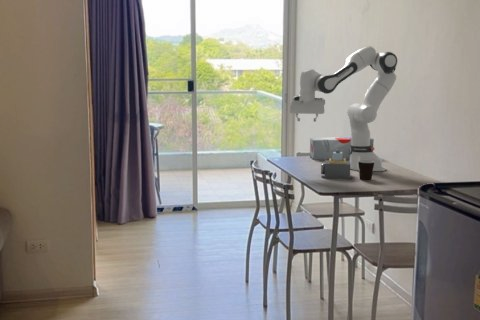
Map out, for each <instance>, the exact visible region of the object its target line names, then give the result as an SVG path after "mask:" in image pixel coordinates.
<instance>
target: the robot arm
mask: <svg viewBox="0 0 480 320" xmlns="http://www.w3.org/2000/svg"><path fill="white" fill-rule="evenodd" d="M397 65H398V58H397V55H396V54H395V53H394V52H391V51H380V52H377V50H376V49H375V48H374V46H371V45H366V46H365V47H361V48H360V49H358V50H356V51H354V52H352V53H351V54H349V56H347V57H346V58H345V60H344V65H343V67H342V68H340V69H338V70H337V71H336V72H334V73H333V74H329V75H323V74H321V73H320V72H317V71H316V70H315V69H313V68H312V69H305V70H303V71H301V72H300V77H299V79H300V80H299V86H300V89H299V94H297V95H295V96H292V97H291V100H292V101H291V102H290V105H289V113H290V114H295V117H296V120H297V122H301V118H300V117H299V114H305V115H306V114H307V115H311V114H312V115H315V118H313V122H317V119H318V117H319V115H324V114H325V104H326V100H325V99H324V98H323V97H316V91H317V92H321V93H323V94H331V93H333V92H334V91H335V90H336V88H337V87H338V85H339V84H341V83H342V82H343V81H345V80H346V79H348V78H349V77H351V76H352V75H354V74H356V73H358V72H361V71H362V70H364V69H366V68H367V67H368V66H370V68H371V69H372V70H374V71H376V72H377V76H376V77H375V79H374V80H373V81H372V82H371V84H370V85H369V87H367V90H365V92H364V93H365V94H364V98H363V100H362V102H356V103H352V104H350V105H349V106H348V108H347V112H346V113H347V116H348V119H349V124H350V131H351V133H350V134H351V136H350V137H351V145H350V159H348V161H350V164H351V165H350V170H354V171H357V172H359V164H358V161H360V160H370V161H374V167H373V172H384V171H386V170H387V168H386V166H384V165H383V161H382V159H381V157H380V156H379V155H377V154H376V153H375V152H374V150H375V147H374V146H373V147H372V146H370V138H371V131H370V129H369V124H370V123H372V122H374V121H375V120H376V118H377V113H378V110H379V108H380V105H381V104H382V102H383V101H384V99H385V98H386V97H387V95H388V94H389V92H390V91H391V89H392V88H393V87H394V84H395V82H396V80H397V75H396V74H395V71H396V68H397ZM372 151H373V152H372Z"/></svg>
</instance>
